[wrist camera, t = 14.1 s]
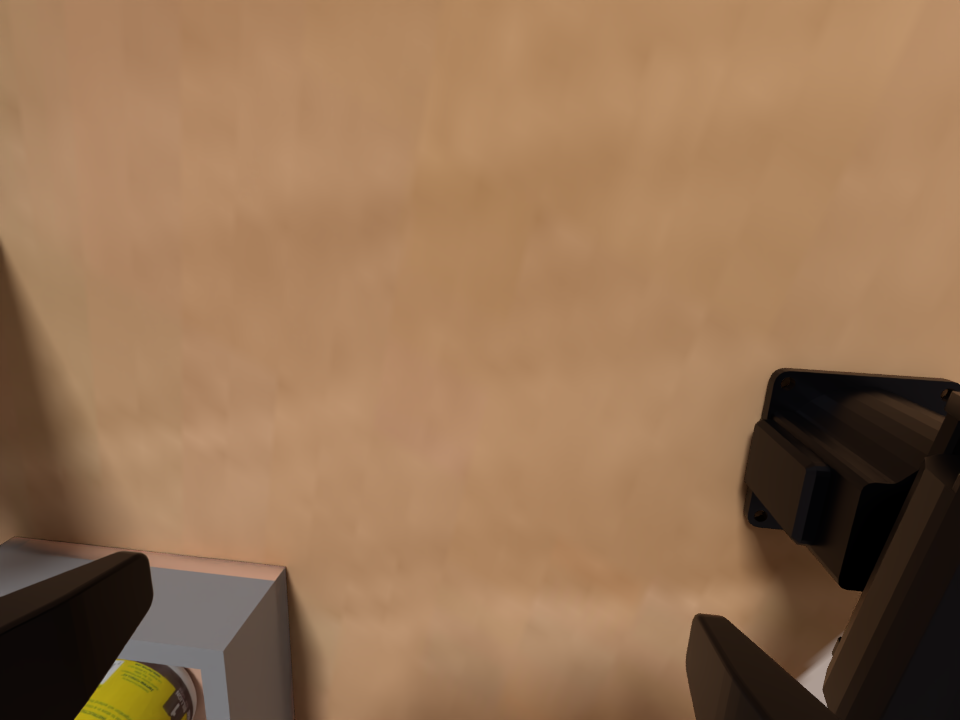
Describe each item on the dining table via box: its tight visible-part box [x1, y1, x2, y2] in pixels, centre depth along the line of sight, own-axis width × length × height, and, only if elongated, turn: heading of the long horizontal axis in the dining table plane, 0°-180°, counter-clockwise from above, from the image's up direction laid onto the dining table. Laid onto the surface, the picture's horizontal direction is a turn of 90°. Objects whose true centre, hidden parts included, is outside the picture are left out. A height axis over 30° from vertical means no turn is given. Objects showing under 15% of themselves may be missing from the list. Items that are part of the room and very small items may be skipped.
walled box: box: [0, 537, 295, 720], centre depth 24 cm, size 14×14×5 cm
